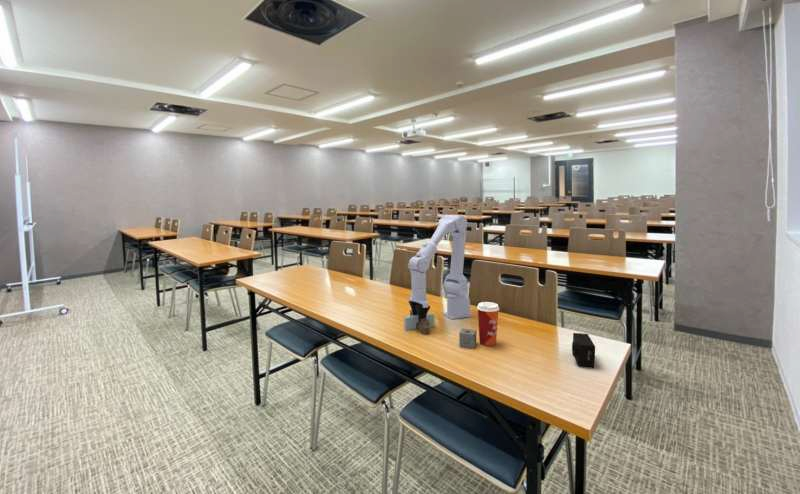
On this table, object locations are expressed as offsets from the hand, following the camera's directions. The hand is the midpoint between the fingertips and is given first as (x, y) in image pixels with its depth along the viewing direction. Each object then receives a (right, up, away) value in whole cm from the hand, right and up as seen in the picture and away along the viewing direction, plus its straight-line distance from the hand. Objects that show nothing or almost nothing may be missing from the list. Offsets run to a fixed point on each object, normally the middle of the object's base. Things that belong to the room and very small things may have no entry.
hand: (419, 320), depth 145 cm
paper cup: (+23, -5, -16) cm, 29 cm away
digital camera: (+49, -6, -31) cm, 58 cm away
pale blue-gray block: (0, -3, 0) cm, 3 cm away
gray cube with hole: (+16, -5, -17) cm, 24 cm away
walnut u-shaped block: (0, -3, 0) cm, 3 cm away
